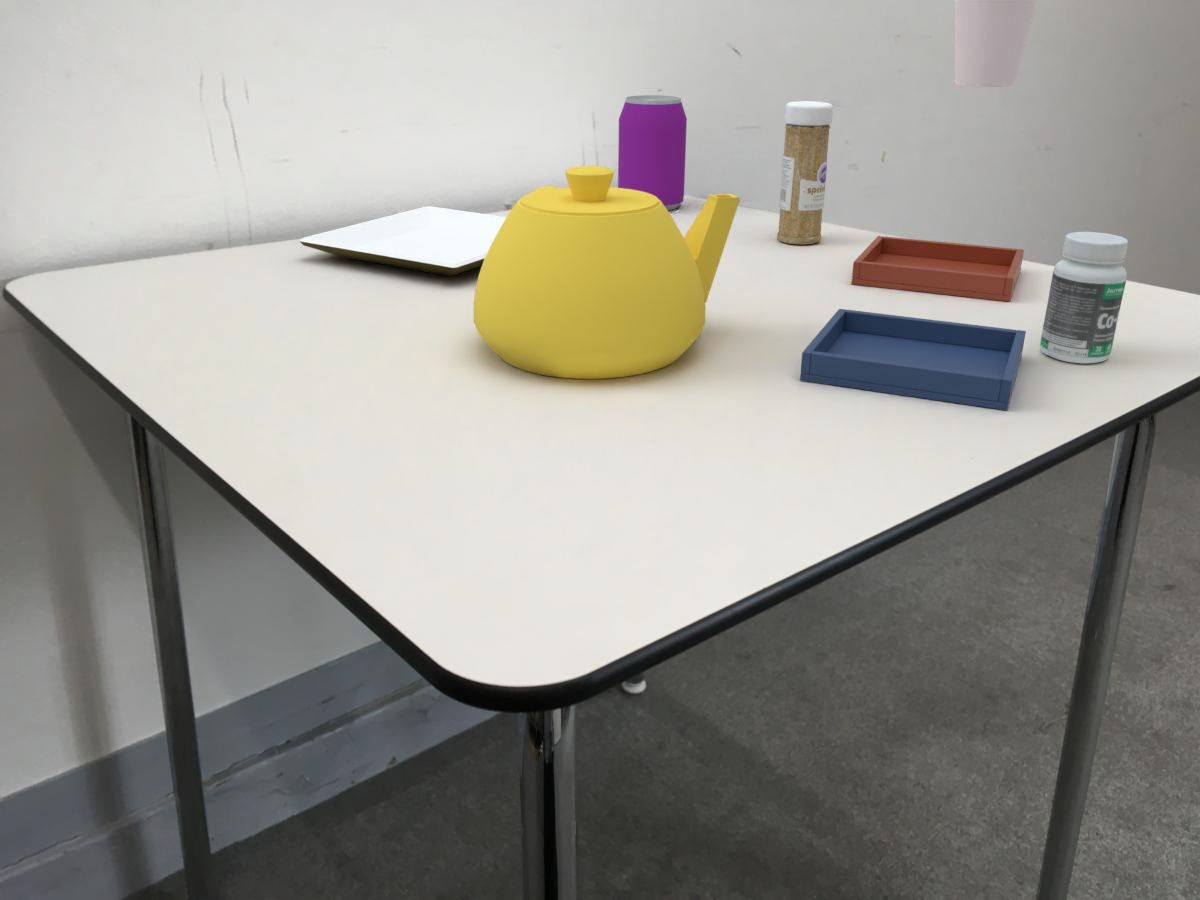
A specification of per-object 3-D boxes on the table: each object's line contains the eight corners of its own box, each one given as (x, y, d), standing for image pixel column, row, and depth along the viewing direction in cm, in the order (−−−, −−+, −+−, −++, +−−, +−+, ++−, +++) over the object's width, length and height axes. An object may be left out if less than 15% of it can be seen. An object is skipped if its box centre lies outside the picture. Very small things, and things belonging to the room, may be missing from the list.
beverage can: (688, 201, 129) (692, 95, 124) (677, 214, 122) (681, 102, 118) (625, 198, 131) (627, 93, 126) (611, 210, 124) (612, 100, 119)
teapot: (525, 401, 69) (520, 198, 64) (435, 321, 85) (425, 153, 80) (789, 359, 77) (804, 175, 72) (662, 293, 93) (667, 138, 87)
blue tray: (1021, 357, 78) (1025, 330, 77) (1007, 410, 68) (1012, 380, 67) (836, 333, 82) (839, 308, 82) (799, 380, 73) (802, 352, 72)
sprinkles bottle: (818, 247, 108) (830, 106, 103) (772, 243, 109) (782, 104, 104) (823, 237, 112) (836, 101, 107) (779, 234, 113) (789, 99, 108)
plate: (299, 260, 102) (296, 238, 101) (428, 224, 117) (427, 205, 116) (456, 289, 93) (454, 265, 92) (574, 246, 108) (574, 225, 107)
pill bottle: (1094, 369, 75) (1119, 248, 72) (1027, 354, 78) (1048, 237, 75) (1120, 354, 78) (1144, 237, 75) (1054, 339, 81) (1075, 227, 78)
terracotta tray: (1020, 271, 100) (1024, 249, 99) (1009, 301, 91) (1013, 278, 90) (875, 256, 105) (877, 235, 104) (851, 284, 96) (853, 261, 95)
